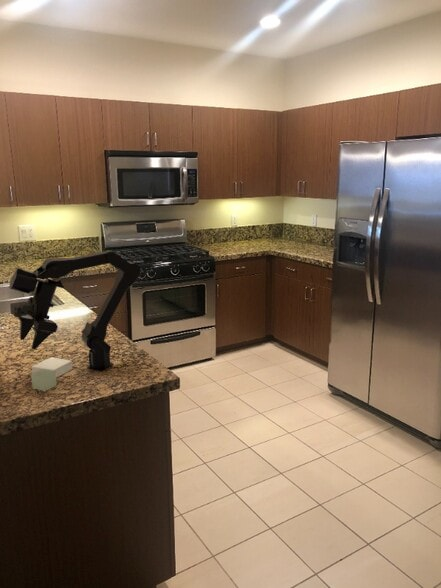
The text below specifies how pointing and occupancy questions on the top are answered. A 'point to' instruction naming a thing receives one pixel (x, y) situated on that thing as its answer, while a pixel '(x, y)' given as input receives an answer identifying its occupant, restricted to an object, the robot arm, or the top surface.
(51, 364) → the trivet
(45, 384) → the cube
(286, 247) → the top surface
